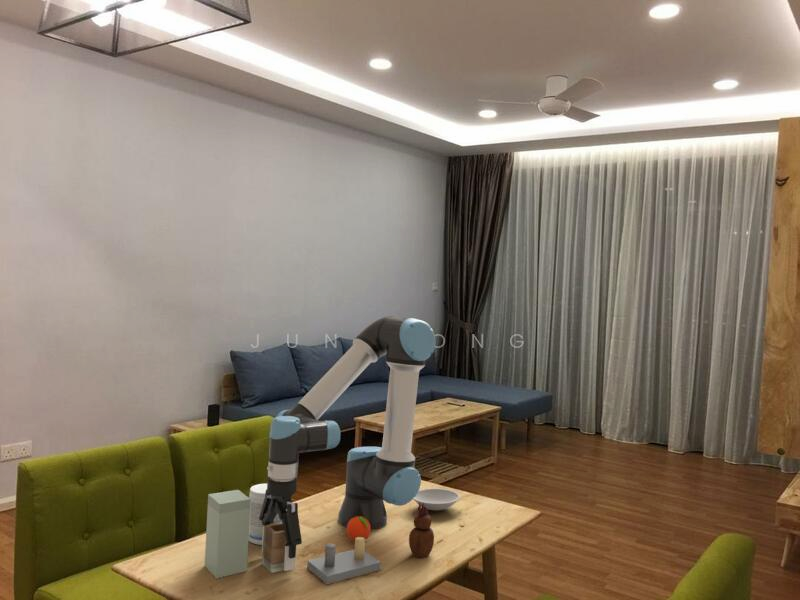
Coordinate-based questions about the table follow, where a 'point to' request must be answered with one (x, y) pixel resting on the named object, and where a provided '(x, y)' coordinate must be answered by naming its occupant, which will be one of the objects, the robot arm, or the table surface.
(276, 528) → the sleeve
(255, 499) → the supplement tub
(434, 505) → the dish
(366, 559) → the pin board
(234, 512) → the tower
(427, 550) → the wooden figurine
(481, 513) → the table surface
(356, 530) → the clementine
